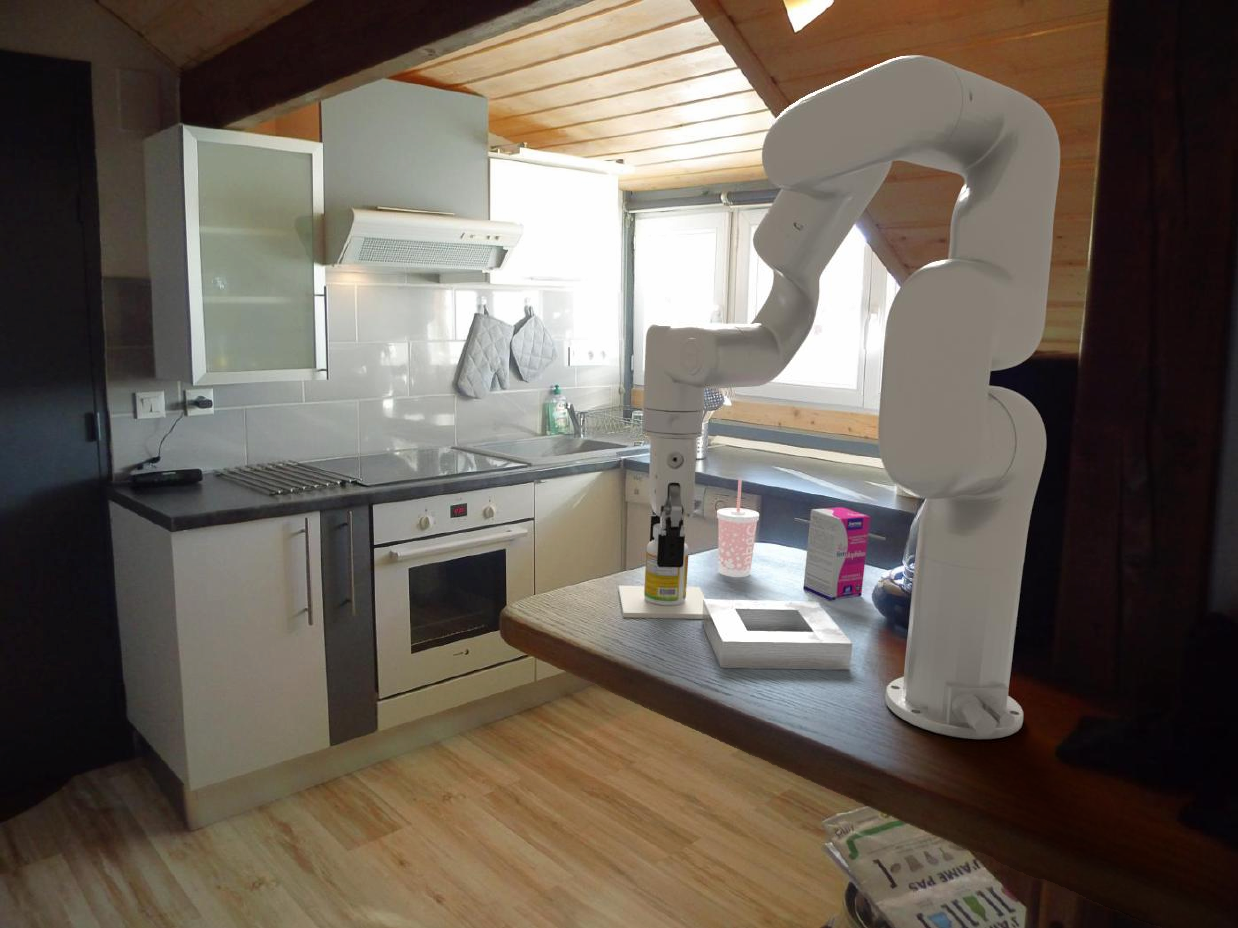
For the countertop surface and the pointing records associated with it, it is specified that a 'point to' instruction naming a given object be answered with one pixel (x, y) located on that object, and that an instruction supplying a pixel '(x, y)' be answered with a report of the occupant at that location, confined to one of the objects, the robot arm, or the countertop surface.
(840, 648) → the concrete holder
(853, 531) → the supplement box
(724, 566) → the beverage cup
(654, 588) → the supplement bottle
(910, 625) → the robot arm
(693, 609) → the plastic mat
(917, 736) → the countertop surface
